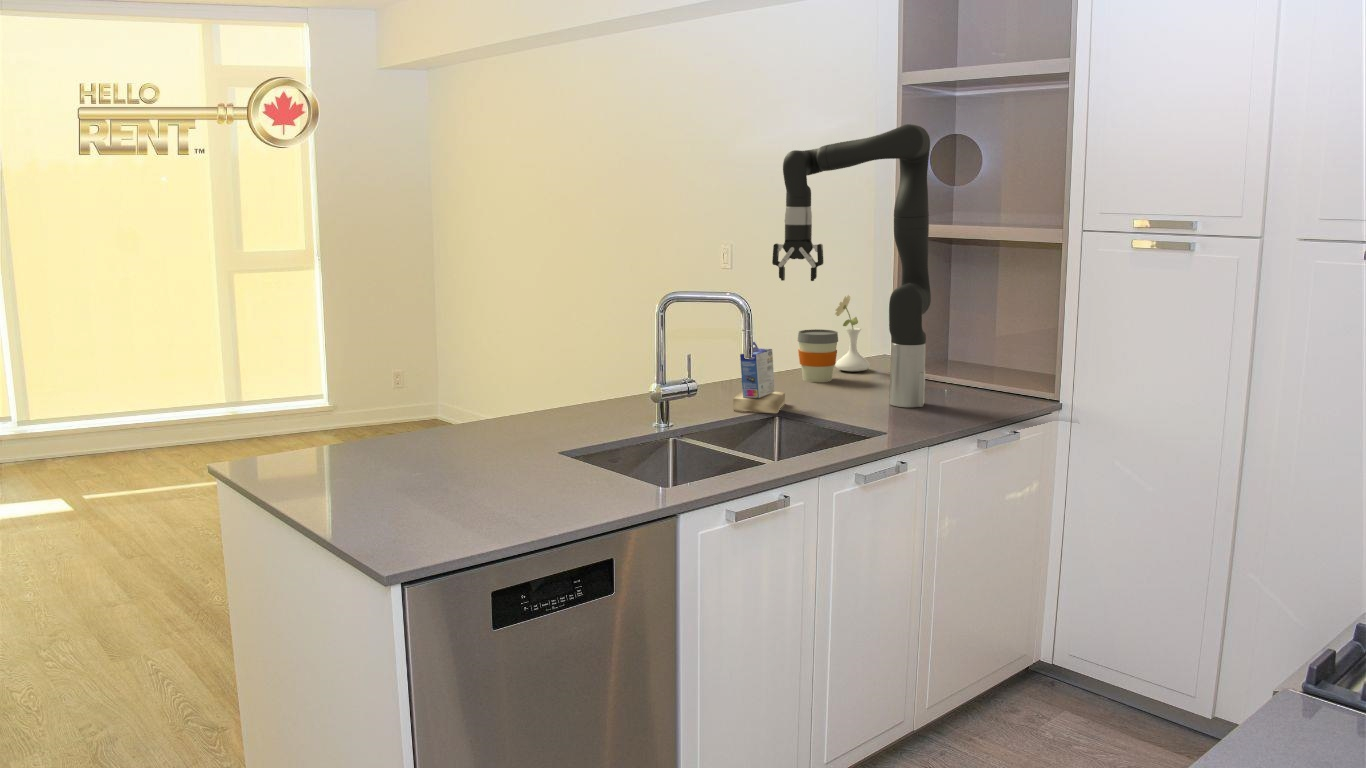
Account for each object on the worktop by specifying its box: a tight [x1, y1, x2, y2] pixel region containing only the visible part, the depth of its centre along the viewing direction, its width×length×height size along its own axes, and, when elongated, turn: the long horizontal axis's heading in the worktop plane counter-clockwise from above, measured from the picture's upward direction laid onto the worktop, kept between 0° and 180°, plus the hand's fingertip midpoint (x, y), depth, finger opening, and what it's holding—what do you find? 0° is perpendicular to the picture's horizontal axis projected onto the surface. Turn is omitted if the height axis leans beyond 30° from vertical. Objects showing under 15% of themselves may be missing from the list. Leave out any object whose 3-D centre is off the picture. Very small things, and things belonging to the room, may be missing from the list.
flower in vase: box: [834, 294, 871, 372], centre depth 341 cm, size 13×11×25 cm
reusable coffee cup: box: [797, 328, 839, 383], centre depth 327 cm, size 13×13×15 cm
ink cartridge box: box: [739, 341, 776, 398], centre depth 286 cm, size 10×6×14 cm, turn 149°
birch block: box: [732, 390, 786, 414], centre depth 288 cm, size 12×12×4 cm
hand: (797, 280), depth 299 cm, fingers open, 8 cm apart
